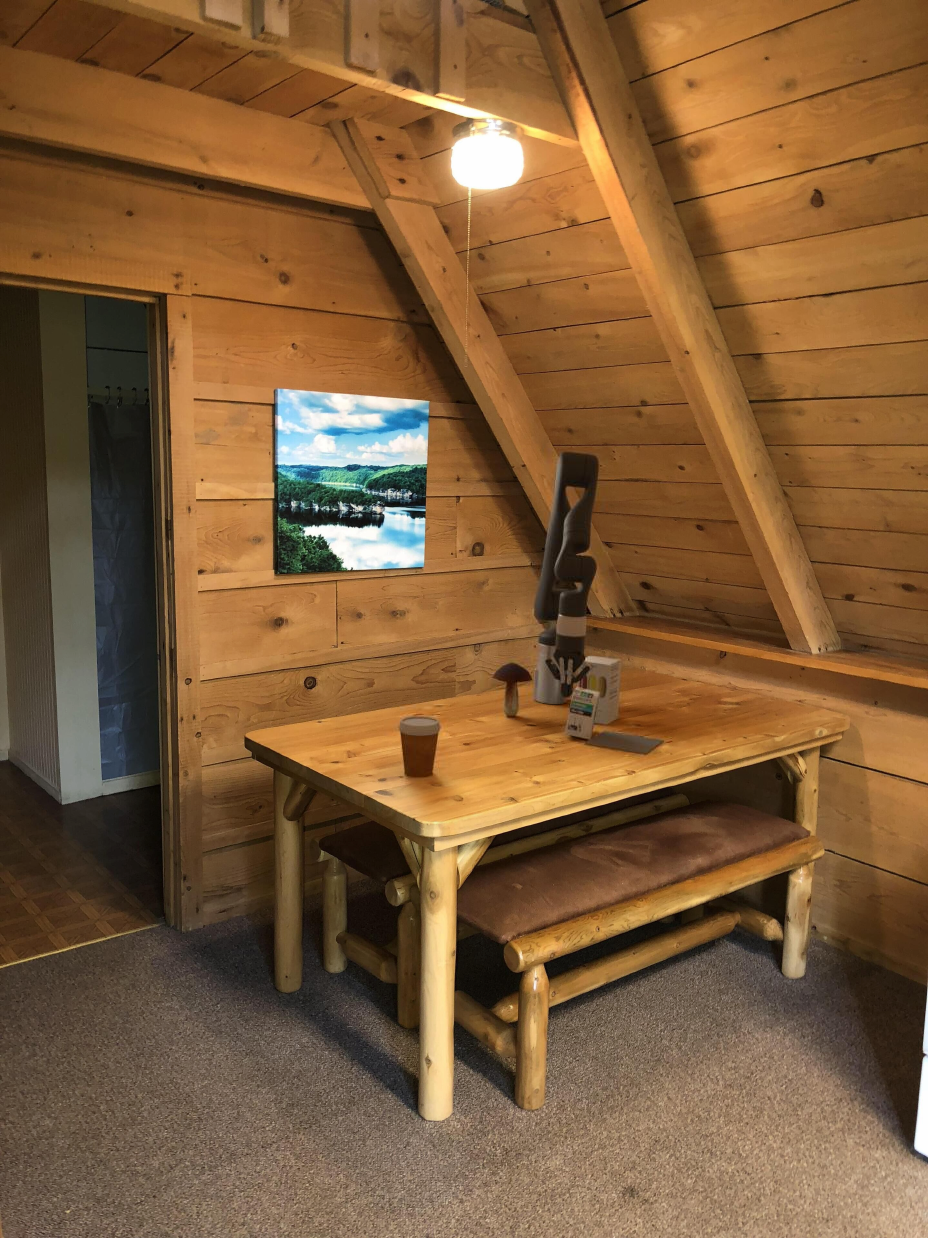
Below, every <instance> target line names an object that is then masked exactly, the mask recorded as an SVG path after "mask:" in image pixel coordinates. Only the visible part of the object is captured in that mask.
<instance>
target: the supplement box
mask: <svg viewBox="0 0 928 1238" xmlns="http://www.w3.org/2000/svg"><path fill="white" fill-rule="evenodd" d="M585 661H586V662H587V663H588V664H589V665H590V664H591V665H592V666H593V668H592V669H591V670H590V671H589V672H588V673H587V674H586V675H585V676H584V677H583V678H582V679H581V680H580V681H579V682H577V687H580V688H583V689H588V690H592V691H597V692H600V698H599V703H598V708H597V713H596V718H595V723H594V724H600V725H605V726H607V725H609V724H611V723H612V722H613V721H615V720H617V719H618V718H619V704H620V703H619V701H620V690H621V671H622V659H620V658H610V657H604V656H596V655H588V656H585ZM581 667H582V665H581V666H580V667H579V668H578V671H577V672H578V674H579V673H580V672H581V671H582V669H581ZM578 674H577V675H578Z"/></svg>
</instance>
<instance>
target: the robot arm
mask: <svg viewBox="0 0 928 1238" xmlns="http://www.w3.org/2000/svg"><path fill="white" fill-rule="evenodd" d="M599 471H600V463H599V459H598V456H596V455H594V454H592V453H591V454H589V453H581V452H573V451H562V452H561V453H560V455H559V457H558V459H557V464H556V472H555V480H554V482H555V484H554V491H553V492H554V493H553V500H552V508H551V513H550V517H549V523H548V527H547V528H548V529H547V534H546V540H545V546H544V555H543V560H542V561H543V562H542V567H541V572H540V577H539V581H538V584H537V589H536V594H535V596H534V603H533V605H534V606H533V610H534V611H533V612H534V615H535V618H536V619H537V620H539V621H549V622H551V621H553V622H555V621H557V622H556V623H555V624H554V625H553V626H552V627H551V628H549V629H547V630H544V631H541V632H540V633H539V635H538V645H537V666H536V667H535V668H534V674H533V675H534V676H533V695H532V696H533V697H532V698H533V701H536V702H539V703H541V704H542V703H543V704H548V705H549V704H550V705H558V704H559V705H560V704H565V703H567V702H568V698H570V697H572V694H573V692H574V685H575V684H578V682H579V681H580V680H581V679H582V678H583V677H584V676H585V675H586V674H587V673H588V672H589V671H590V670H591V669H592V668H593V666H592V665H591V664H590V665H589V664H588V663H587V662H586V661H585V658H586V656H585V648H586V646H585V645H586V635H587V608H588V607H587V605H588V599H589V594H590V590H591V587H592V584H593V581H594V579H595V577H596V574H597V569H598V565H597V564H598V563H597V561H596V560H595V558H594V557H593V556H592V555H587V554H586V555H585V554H584V553H586V552H588V550H589V549H590V546H591V533H592V531H591V530H592V529H591V528H592V516H593V512H594V506H595V500H596V496H597V495H596V494H597V488H598V481H599V480H598V479H599ZM567 487H570V488H579V489H584V491H583V494H582V496H581V497H580V498H579V500H578V501H577V502H576V503H575V504H574V505H573V507H571V504H570V502H569V498H568V495H567ZM583 554H584V555H583ZM557 580H558V581H560V582H563V583H575V584H577V583H578V584H579V583H580V586H579V587H578V588H575V589H571V590H570V589H567V588H554V586H555V583H556V581H557ZM581 665H582V667H581V669H582V671H581V672H580V673H579V674H577V672H578V670H579V667H580V666H581ZM576 674H577V675H576Z"/></svg>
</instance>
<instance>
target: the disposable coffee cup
mask: <svg viewBox="0 0 928 1238" xmlns="http://www.w3.org/2000/svg"><path fill="white" fill-rule="evenodd" d="M397 728H398V730H399V733H400V743H401V751H402V760H403V769H404V774H405V775H407V776H409V777H413V778H425V777H430V776H432V775H433V773H434V772H433V771H434V765H435V759H436V751H437V746H438V740H439V739H438V737H439V733H440V730H441V728H442V725H440V721H439V719H438V718H435V717H433V716H432V717H431V716H426V715H425V716H424V715H414V716H406V717H403V718H401V719H400V721H399V724H398V725H397Z"/></svg>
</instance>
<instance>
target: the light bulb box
mask: <svg viewBox="0 0 928 1238" xmlns="http://www.w3.org/2000/svg"><path fill="white" fill-rule="evenodd" d="M599 698H600V692H597V691H592V690H588V689H583V688H580V687H578V686H576V687H575V688H574V689H573V694H572V695H571V700H570V707H569V711H568V717H567V721H566V725H565V733H564V735H569V736H573V737H577V738H582V739H586V740H590V739H592V735H593V733H594V727H595V724H596V723H595V718H596V713H597V708H598V703H599Z"/></svg>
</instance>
